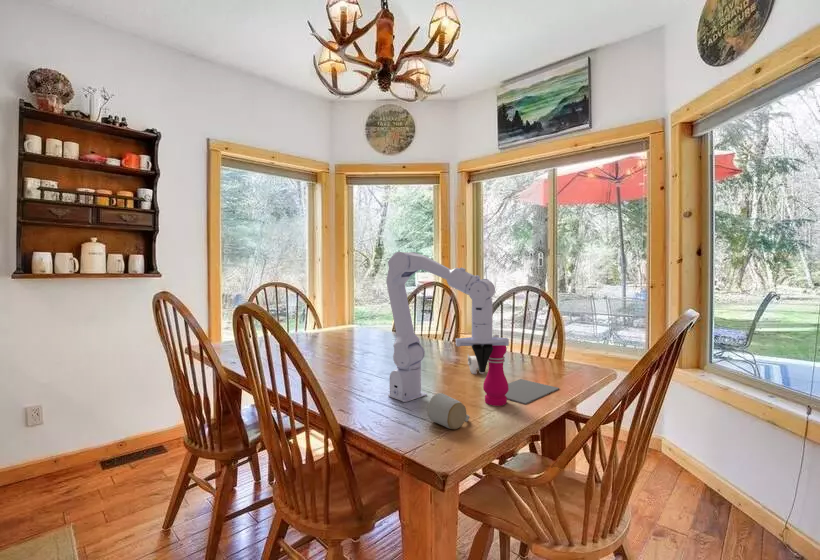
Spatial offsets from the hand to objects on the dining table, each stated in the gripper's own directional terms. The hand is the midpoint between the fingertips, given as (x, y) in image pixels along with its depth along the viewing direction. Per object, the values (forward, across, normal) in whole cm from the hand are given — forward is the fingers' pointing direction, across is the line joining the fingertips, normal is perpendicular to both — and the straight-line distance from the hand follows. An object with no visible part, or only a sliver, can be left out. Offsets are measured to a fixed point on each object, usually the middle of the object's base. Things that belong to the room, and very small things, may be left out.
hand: (482, 371), depth 114 cm
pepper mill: (+11, -5, -4) cm, 12 cm away
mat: (+10, -16, -14) cm, 23 cm away
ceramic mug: (+11, +10, +10) cm, 18 cm away
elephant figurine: (+11, -6, -37) cm, 39 cm away
